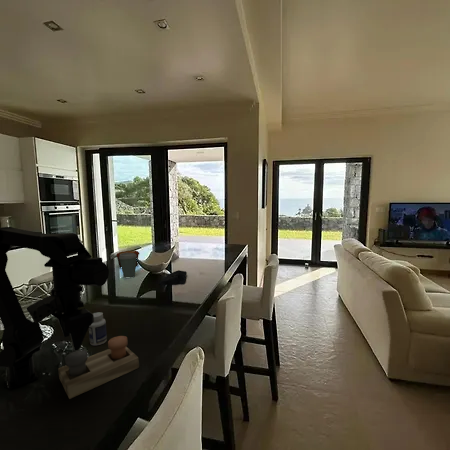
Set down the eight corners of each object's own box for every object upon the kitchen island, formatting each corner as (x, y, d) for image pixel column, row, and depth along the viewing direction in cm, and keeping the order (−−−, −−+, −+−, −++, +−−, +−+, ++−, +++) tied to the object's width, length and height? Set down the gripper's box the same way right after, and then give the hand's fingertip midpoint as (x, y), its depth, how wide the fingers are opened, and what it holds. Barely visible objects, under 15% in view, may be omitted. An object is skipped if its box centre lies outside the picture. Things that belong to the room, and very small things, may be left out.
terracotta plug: (106, 355, 82) (105, 340, 81) (124, 348, 85) (123, 334, 85) (113, 362, 78) (111, 347, 77) (131, 355, 81) (130, 340, 81)
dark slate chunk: (190, 274, 178) (190, 267, 177) (184, 285, 156) (184, 277, 155) (166, 275, 178) (166, 268, 178) (157, 286, 156) (156, 278, 156)
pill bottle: (109, 337, 98) (107, 311, 97) (103, 345, 93) (101, 317, 92) (94, 338, 98) (91, 311, 97) (87, 346, 93) (84, 318, 92)
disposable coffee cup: (140, 274, 180) (139, 251, 179) (133, 279, 170) (132, 255, 168) (125, 274, 181) (123, 252, 180) (117, 279, 171) (115, 255, 169)
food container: (116, 266, 207) (115, 251, 206) (138, 263, 213) (137, 249, 212) (117, 270, 192) (116, 255, 191) (141, 267, 199) (140, 252, 198)
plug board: (59, 378, 76) (58, 368, 76) (123, 352, 88) (123, 343, 88) (69, 399, 68) (68, 387, 68) (139, 367, 80) (138, 357, 80)
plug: (64, 371, 74) (62, 355, 74) (85, 363, 78) (84, 348, 77) (69, 380, 71) (67, 363, 70) (91, 371, 74) (89, 355, 74)
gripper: (21, 283, 71) (27, 341, 73) (36, 302, 58) (42, 372, 59) (69, 274, 79) (74, 326, 81) (92, 289, 65) (96, 352, 67)
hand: (71, 342), depth 72 cm, fingers open, 9 cm apart
